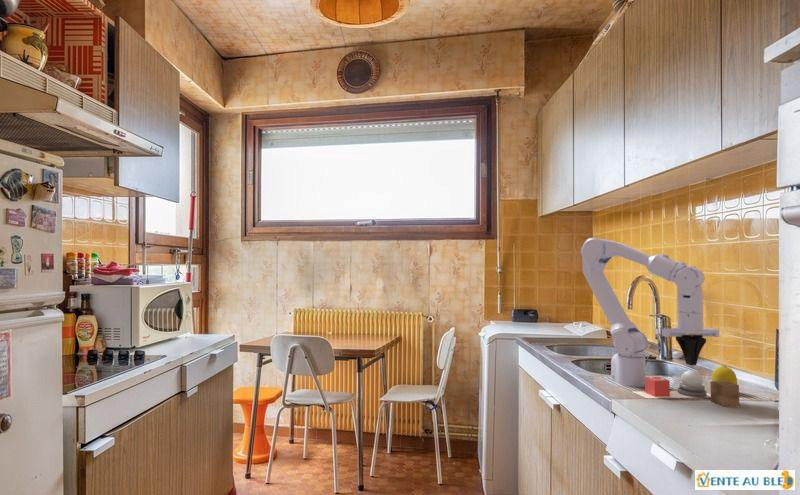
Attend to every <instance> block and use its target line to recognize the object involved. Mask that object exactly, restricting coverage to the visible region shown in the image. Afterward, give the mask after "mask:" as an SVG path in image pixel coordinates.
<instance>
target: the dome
mask: <svg viewBox="0 0 800 495" xmlns="http://www.w3.org/2000/svg"><path fill="white" fill-rule="evenodd" d="M680 381H681V382H680V383H679V387H678V388H680V389H683V390H686V391H693V392H704V391H706V388H705V386H704V385H703V382H704V380H703V377H702V375H701V374H700V372H698V371H696V370H693V369H691V370H685V371H684V372H682V374H681V376H680Z"/></svg>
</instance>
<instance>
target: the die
mask: <svg viewBox="0 0 800 495" xmlns="http://www.w3.org/2000/svg"><path fill="white" fill-rule="evenodd" d="M644 388H645V390H644V391H645V393H648V394H650V395H652V396H655V397H663V396H670V391H671V390H670V388H671V387H670V380H669V379H666V378H665V377H661V376H646V377H645V386H644Z"/></svg>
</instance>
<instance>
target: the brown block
mask: <svg viewBox="0 0 800 495" xmlns="http://www.w3.org/2000/svg"><path fill="white" fill-rule="evenodd" d="M709 383H710V394H711V397H710V403H712V404H715V405H717V406H721V407H723V408H724V407H726V408H727V407H728V408H729V407H735V408H736V407H740V386H739V384H738V383H737V384H733V383H730V382H727V381H712V380H711V381H710V382H709Z"/></svg>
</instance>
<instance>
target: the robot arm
mask: <svg viewBox="0 0 800 495" xmlns="http://www.w3.org/2000/svg"><path fill="white" fill-rule="evenodd" d="M579 252H580V254H581V257H582V259H581V260H582V262H581V263H582V264H581V265H582V274H583V276H584V279H585V280H586V282H587V283H588V285H589V288H590V289H591V292H592V293H593V295H594V296H595V299H596V300H597V302H598V304H599V306H600V309H602V310H601V311H603V314H604V315H605V318H606V319H607V321H608V323H609V325H610V335H611V337H612V341H613V342H612V343H613V348H614V350H615V351H616V353H615V354H614V355H613V356H612V357H611V360H610V368H611V369H610V370H611V371H610V372H611V380H612V381H614V382H616V383H618V384H619V385H623V386H627V387H633V388H635V387H636V388H640V387H642V388H643V387H645V377H647V376H646V353H645V350H646V349H647V348H648V345H649V344H648V343H649V341H648V338H647V336H646V334H645V333H643V332H642V331H641V330H639V328H638V326H637V325H636V324H635V323H634V322H633V321H632V320H631V319H630V318H629V317H628V314H627V313H626V311H625V309H624V307H623V306H622V303H621V302H620V300H619V298H618V296H617V295H616V293H615V291H614V289H613V287H612V286H611V283H610V282H609V281H608V278H607V277H606V275H605V273H604V270H605V269H606V265H607V264H608V263H609V262H610V260H611V259H612V258H615V257H616V258H617V257H621V258H624V259H626V260H629V261H631V262H634V263H636V264H639V265H641V266H644V267H646V269H647V271H648V273H649V274H651V275H654V276H656V277H659V278H660V279H663V280H665V281H668V282H669V283H674V285H676V287H677V288H676V289H677V291H676V292H677V295H676V305H677V306H676V307H677V308H676V309H677V313H676V314H677V327H674V328H673V327H672V328H661V336H662V337H665V338H671V337H672V338H673V337H675V341H676V342H677V343H678V345H679V347H680V350H681V351H682V354H683V357H684V360H685V364H686V365H689V366H696V365H697V363H698V359H699V356H700V353H701V351H702V349H703V348H704V346H705V344H706V343H707V337H710V338H711V337H715V338H720V329H717V328H705V327H704V306H703V304H704V303H703V300H704V299H703V298H704V297H703V286H702V285H703V284H704V282H705V274H704V272H703V271H702V270H701V269H700V268H698V267H696V266H692V265H691V266H687V265H688V264H687V262H685V261H681V262H680V261H677V260H675V259H672V258H670V255H669V254H665V253H662V254H660V253H659V254H658V253H657V254H655V255H650V254H648V253H644V252H643V251H641V250H638V249H637V248H634V247H632V246H629V245H627V244H624V243H622V242H618V241H614V240H610V239H608V238H604V239H603V238H598V237H589V238H588V239H586V240H585V241H584V243H583V245H582V247H581V250H580V251H579Z"/></svg>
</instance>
